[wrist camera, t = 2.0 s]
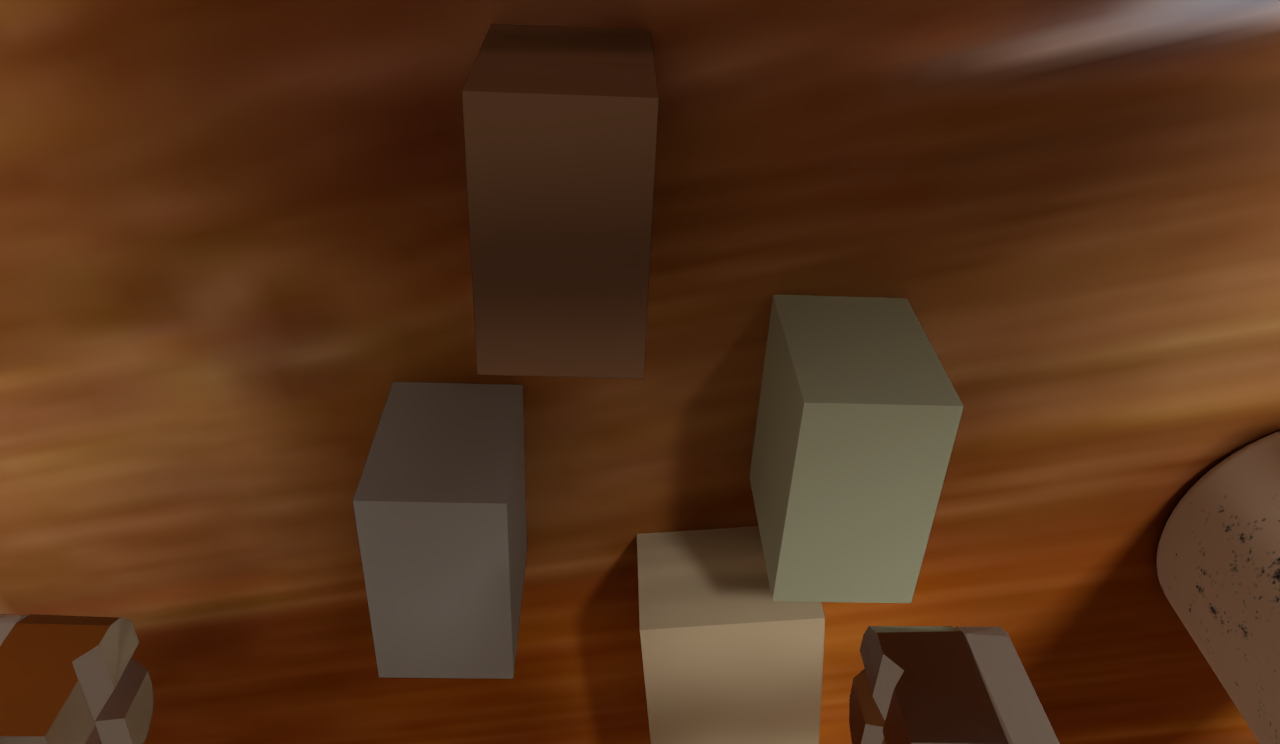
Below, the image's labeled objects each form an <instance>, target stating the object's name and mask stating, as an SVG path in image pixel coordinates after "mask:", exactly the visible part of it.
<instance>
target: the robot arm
mask: <svg viewBox="0 0 1280 744" xmlns="http://www.w3.org/2000/svg"><path fill="white" fill-rule="evenodd" d="M138 643H139V640H138V638H137V635H136V632H135V629H134V627H133V624H132V621H131V620H128V619H124V618H116V617H89V616H62V615H35V614H30V615H13V614H0V744H144V742H145V739H146V737H147V735H148V731H149V726H150V721H151V717H152V712H153V707H154V705H153V686H152V683H151V679H150V676H149V672H148V670H147V669H145V668H144V667H143V666H141V665H140V664H139V663H138V662H136V661H135V660H134V659H132V658H131V657H132V655H133V653H134V651H135V649H136V647H137V645H138ZM860 653H861V656H862V660H863V664H864V667H865V669H864V670H862V671H861V672H860V673H859V674H858V675H856V676H855V677H854V678H853V683H852V689H851V694H850V703H849V725H850V732H851V739H852V744H1060V743H1059V741H1058V739H1057V737H1056V735H1055V732H1054V730H1053V728H1052V726H1051V724H1050V722H1049V720H1048V718H1047V715H1046V713H1045V711H1044V709H1043V707H1042V705H1041V703H1040V701H1039V698H1038V696H1037V694H1036V692H1035V690H1034V688H1033V686H1032V684H1031V681H1030V679H1029V677H1028V675H1027V673H1026V671H1025V669H1024V667H1023V665H1022V662H1021V660H1020V658H1019V656H1018V654H1017V652H1016V650H1015V648H1014V645H1013V643H1012V641H1011V639H1010V637H1009V635H1008V633H1007V632H1006V631H1004V630H1003V629H1002V628H1001V627H955V628H954V627H952V626H869V627H868V629H867V630H866V632H865V633H864V635H863V639H862V644H861V648H860Z"/></svg>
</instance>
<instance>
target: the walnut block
mask: <svg viewBox="0 0 1280 744" xmlns="http://www.w3.org/2000/svg"><path fill="white" fill-rule="evenodd" d="M462 100H463V118H464V136H465V155H466V173H467V192H468V210H469V228H470V247H471V265H472V283H473V302H474V320H475V338H476V357H477V375H506V376H547V377H587V378H628V379H644V362H645V344H646V325H647V306H648V288H649V269H650V250H651V232H652V213H653V194H654V176H655V157H656V138H657V120H658V101H659V97H658V89H657V80H656V72H655V64H654V55H653V47H652V39H651V30H633V29H607V28H581V27H556V26H530V25H504V24H491V26H490V28H489V31H488V33H487V35H486V37H485V40H484V42H483V44H482V47H481V49H480V51H479V53H478V56H477V58H476V60H475V63H474V65H473V67H472V69H471V72H470V74H469V76H468V78H467V81H466V83H465V85H464V88H463V90H462Z"/></svg>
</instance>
